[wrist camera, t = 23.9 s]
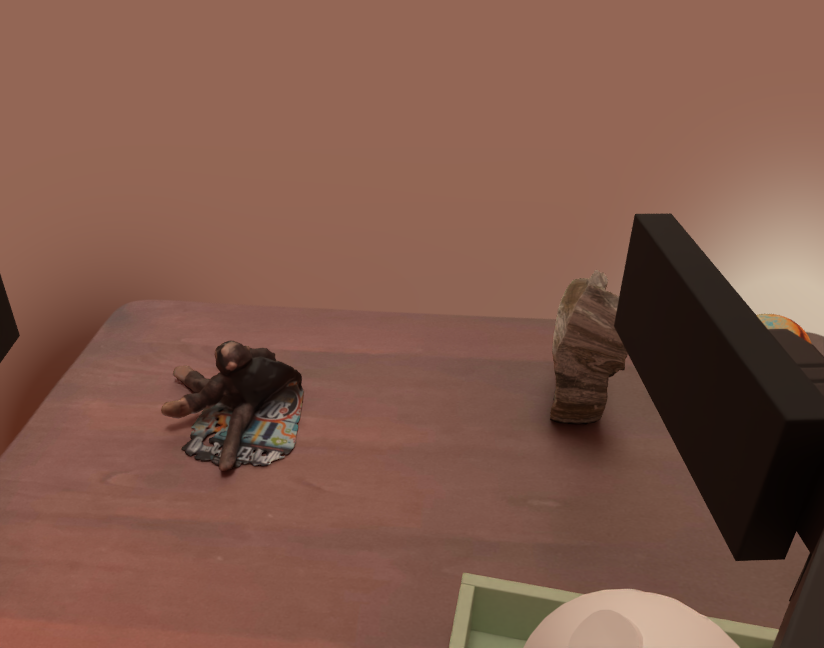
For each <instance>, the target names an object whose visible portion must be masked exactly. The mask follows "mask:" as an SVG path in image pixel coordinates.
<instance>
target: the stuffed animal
mask: <svg viewBox="0 0 824 648" xmlns="http://www.w3.org/2000/svg"><path fill="white" fill-rule="evenodd" d="M215 358H216V366H217V368H218V369H219V371H220V373H218V374H217V375H215V376H213V377H212V378H211V379H206V378H204V376H203V375H201V374H200V373H199V372H197V371H194V370H193V369H192V368H191V367H189V366H178V367H176V368H175V369H174V371H173V375H174V376H175V377H176V378H178V379H179V380H180V381H182V382H183V383H184V384H185V385H186V386H187V387H189V388H190V389H192V391H193V392H195V393H193V394H187V395H185V396H183V397H182V398H181V399H180V400H177V401H171V402H166V403H165V404H164V405H163V406H162V408H161V412H162V414H163V415H165V416H170V417H173V418H182V417H185V416H187V415H189V414H193V413H197V412H199V411H201V410H203V409H204V410H203V411H202V413H201V415H200V416H199V417H198V418H197V420H196V422H195V423H194V425H193V426H192V427H191V428H195V430H194V431H192V432H191V435H190V436H191V439H192V440H191V441H189V442H188V443H187V444H186V445H184V446H183V447H182V450H186V451H185V453H186V454H188V455H190V456H192V454H197V455H196V456H194V457H195V459H201V461H205V460H211V461H212V462H213V463H214V464H219V469H220V470H221V471H226V470H229V469H231V468H233V467H236V466H240V463H244V464H246V463H252V464H253V465H254V466H256V465H259V464H261V465H262V466H264V465H268V464H271V461H273V460H277V459H281V458H283V457H285V456H280V454H282V453H285V455H286V454H288V453H289V452H291V449H293V448H294V444H295V443H296V440H295V439H296V438H295V437H296V433H297V432H296V431H297V430H298V425H297V422H298V421H299V419H300V413H301V408H302V400H303V394H304V391H303V389H302V386H301V381H302V376H301V374H300V373H299V372H298V371H297V370H294V368H293V367H291V366H289V365H287V364H284V363H282V362H280V361H277V360H276V359H275V354H274V353H272V352H270V351H269V350H268V349H267V348H257V349H252V348H250V347H249V346H243V345H242V344H240V343H237V342H235V341H227V342H225V343H222V344H221V345H220V346H218V347H217V348H216V350H215ZM221 410H223V411H222V412H220V411H221ZM216 418H219V420H218V421H217V420H216ZM216 423H218V424H219V425H222V426H220V427H218V428H215V426H216ZM226 425H228V426H227V427H226ZM207 428H210V429H207ZM225 430H226V431H225ZM213 432H217V433H216V434H215V436H214V437H212V438H209V443H214V444H213V445H214V447H208V446H204V445H203V443H202V441H203V439H205V438H206V436H207V434H211V433H213ZM244 437H246V438H245V439H243V438H244ZM220 446H223V447H222V450H218V448H219V447H220ZM253 450H256V452H255V453H252V452H253ZM265 451H266V452H267V454H266V456H262V455H261V454H262V453H263V452H265ZM216 453H218V456H215V454H216ZM249 456H252V457H250V458H251V461H249V459H250V458H249ZM237 457H239V458H237ZM241 460H242V461H241ZM267 462H270V463H267Z"/></svg>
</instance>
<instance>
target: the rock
mask: <svg viewBox="0 0 824 648" xmlns="http://www.w3.org/2000/svg"><path fill="white" fill-rule="evenodd" d="M607 283H608V279H607V277H606V276H605V274H604V273H600V272H599V271H595V272H594V274H593V275H592V276H591V277H590V278H589V279H585V278H580V279H575V280H573V281H572V282H571V284H570V285H569V286H568V288H567V289H566V291H565V293H564V296H563V297H562V299H561V302H560V305H559V308H558V313H557V318H556V324H555V331H554V337H553V349H552V354H553V361H554V371H555V375H556V390H555V395H554V399H553V400H554V403H553V405H552V408H551V415H550V420H552V421H555V422H560V423H568V424H588V423H594V422H596V421H597V420H599V419H600V418H601V417H602V414H603V411H604V409H605V405H606V402H607V387H608V378H609V377H611V376H613V375H614V374H615V373H616V372H618V371H619V370H624V369H625V359H626V357H627V355H628V353H627V351H626V349H625V347H624V345H623V343H622V341H621V339H620V337H619V335H618V333H617V331H616V330H615V328H614V322H615V317H616V312H617V306H618V301H619V297H618V296H617V295H614V294H612V293H611V292H608V291H606V290H605V289H606V287H607Z"/></svg>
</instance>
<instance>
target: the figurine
mask: <svg viewBox="0 0 824 648" xmlns="http://www.w3.org/2000/svg"><path fill="white" fill-rule="evenodd" d="M523 648H740V647H739V646H738V645H737V644H736V643H735V642H734V641H733V640H732V639H731V638H730V637H729V636H728V635H727V634H726V633H725V632H724V631H723V630H722V629H721V628H720V627H719V626H718V625H717V624H715V623H714V622H713V621H711V620H710V619H708V618H707V617H705V616H704V615H700V614H699V613H698V612H696V611H695V610H693V609H691V608H690V607H688V606H686V605H684V604H683V603H681V602H679V601H678V600H676V599H673V598H670V597H667V596H663V595H659V594H655V593H649V592H642V591H640V590H635V589H613V590H602V591H597V592H593V593H589V594H585V595H581V596H579V597H577V598H575V599H573V600H571V601H569V602H567V603H564V604H562V605H561V606H560V607H558V608H557V609H556V610H554V611H553V612H552V613H551V614H549V615H548V616H547V617H545V618H544V620H543V621H542V622H541V623H540V624H539V625H538V627H537V628H536V629H535V630H534V631H533V632H532V634H531V635H530V637H529V638H528V640H527V642H526V643H525V645H524V647H523Z"/></svg>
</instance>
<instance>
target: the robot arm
mask: <svg viewBox="0 0 824 648" xmlns="http://www.w3.org/2000/svg"><path fill="white" fill-rule="evenodd" d="M614 328H615V330H616V331H617V333H618V335H619V337H620V339H621V341H622V343H623V345H624V347H625V349H626V351H627V353H628V355H629V356H630V358H631V360H632V362H633V364H634V366H635V368H636V370H637V372H638V374H639V376H640V378H641V380H642V382H643V383H644V385H645V387H646V389H647V391H648V393H649V395H650V397H651V399H652V401H653V403H654V405H655V407H656V408H657V410H658V412H659V414H660V416H661V418H662V420H663V422H664V424H665V426H666V428H667V430H668V432H669V434H670V435H671V437H672V439H673V441H674V443H675V445H676V447H677V449H678V451H679V453H680V455H681V457H682V459H683V460H684V462H685V464H686V466H687V468H688V470H689V472H690V474H691V476H692V478H693V480H694V482H695V484H696V486H697V487H698V489H699V491H700V493H701V495H702V497H703V499H704V501H705V503H706V505H707V507H708V509H709V511H710V512H711V514H712V516H713V518H714V520H715V522H716V524H717V526H718V528H719V530H720V532H721V534H722V536H723V538H724V539H725V541H726V543H727V545H728V547H729V549H730V551H731V553H732V555H733V557H734V559H735V561H748V560H779V559H785V557H786V555H787V552H788V550H789V548H790V545H791V543H792V540H793V538H794V536H795V533H796V531H797V532H798V534H799V536H800V537H801V539H802V540H803V542H804V544H805V545H806V547H807V548H808V550H809V551H810V554H809V556H808V559H807V561H806V563H805V565H804V568H803V570H802V572H801V575H800V577H799V579H798V581H797V584H796V586H795V588H794V590H793V593H792V595H791V597H790V600H789V601H790V603H789V606H788V608H787V611H786V613H785V616H784V618H783V621H782V624H781V626H780V629H779V631H778V634H777V636H776V639H775V641H774V644H773V646H772V648H824V357H823V355H822V354H821V353H820V352H819V351H818V350H817V349H816V348H815V347H814V345H812V344H811V343H809V342H808V341H806V340H804V339H803V338H801V337H799V336H798V335H796V334H795V333H793V332H791V331H790V330H788V329H767V328H766V326H765V325H764V324H763V323H762V322H761V320H760V319H759V318H758V317H757V316H756V314H755V313H754V312H753V311H752V310H751V308H750V307H749V306H748V305H747V304H746V302H745V301H744V300H743V299H742V298H741V297H740V295H739V294H738V293H737V292H736V291H735V289H734V288H733V287H732V286H731V285H730V283H729V282H728V281H727V280H726V279H725V277H724V276H723V275H722V274H721V273H720V271H719V270H718V269H717V268H716V267H715V266H714V264H713V263H712V262H711V261H710V259H709V258H708V257H707V256H706V255H705V253H704V252H703V251H702V250H701V249H700V248H699V246H698V245H697V244H696V243H695V241H694V240H693V239H692V238H691V237H690V235H689V234H688V233H687V232H686V231H685V230H684V228H683V227H682V226H681V225H680V224H679V223H678V221H677V220H676V219H675V218H674V216H673V215H672V214H635V216H634V222H633V227H632V232H631V238H630V243H629V248H628V254H627V259H626V265H625V270H624V275H623V280H622V285H621V291H620V296H619V301H618V306H617V312H616V317H615V322H614ZM19 336H20V335H19V332H18V329H17V325H16V323H15V319H14V316H13V313H12V310H11V306H10V303H9V300H8V297H7V294H6V291H5V288H4V284H3V281H2V278H1V275H0V363H1V361H2V360H3V358H4V357H5V356H6V354H7V353H8V351H9V350H10V349H11V347H12V346H13V344H14V343H15V342H16V340H17V339H18V337H19Z"/></svg>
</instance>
